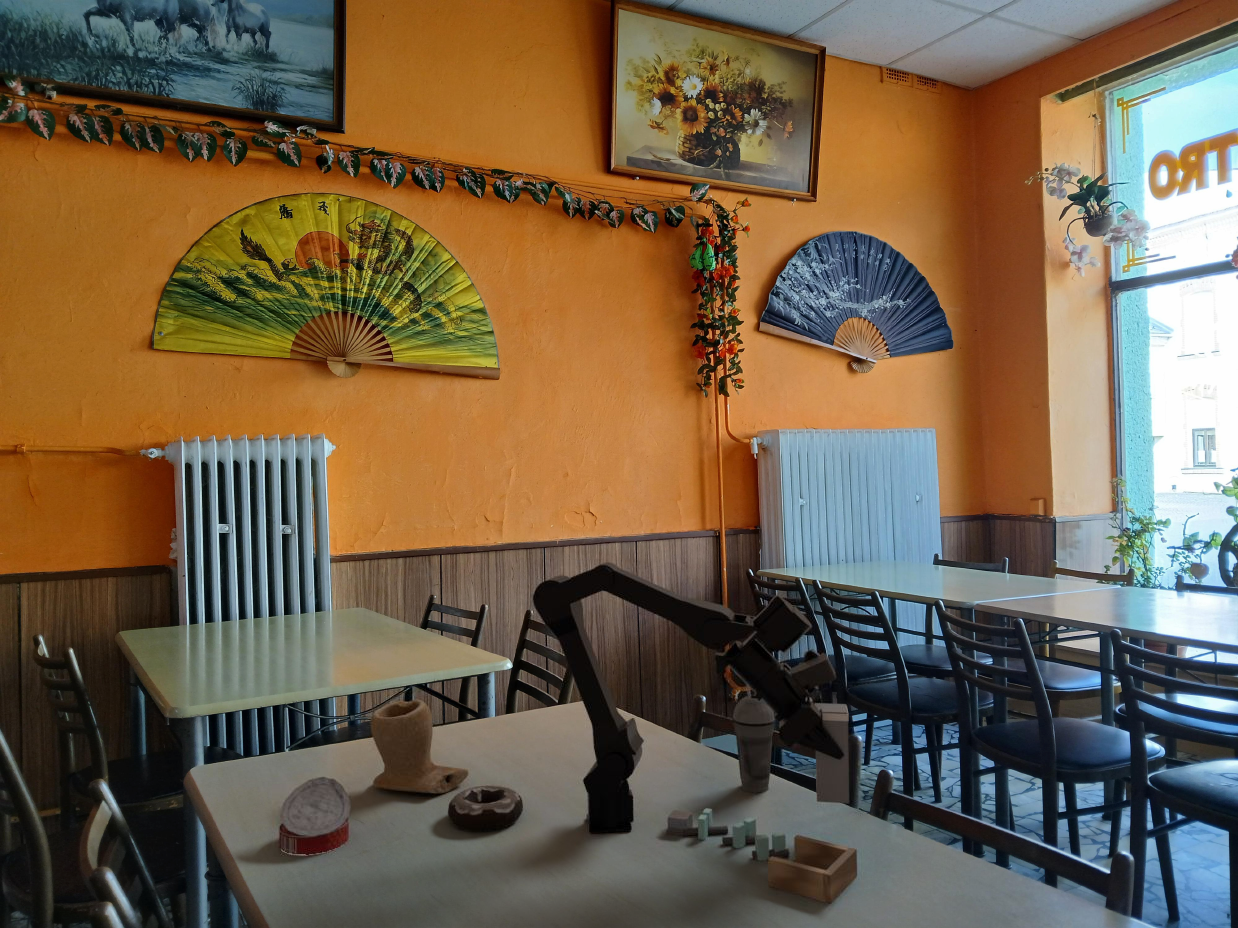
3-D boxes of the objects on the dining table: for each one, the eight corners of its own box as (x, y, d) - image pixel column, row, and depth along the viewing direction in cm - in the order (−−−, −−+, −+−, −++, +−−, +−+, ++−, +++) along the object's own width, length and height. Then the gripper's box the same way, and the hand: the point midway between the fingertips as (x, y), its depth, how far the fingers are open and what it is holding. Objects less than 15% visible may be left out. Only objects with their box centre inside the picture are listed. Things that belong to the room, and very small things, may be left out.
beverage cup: (776, 796, 147) (773, 675, 147) (731, 794, 148) (729, 674, 149) (777, 780, 154) (775, 665, 154) (735, 778, 156) (732, 664, 156)
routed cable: (694, 863, 123) (694, 856, 123) (682, 833, 133) (682, 826, 133) (789, 857, 124) (789, 850, 124) (770, 828, 134) (770, 821, 134)
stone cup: (356, 795, 151) (354, 707, 151) (400, 772, 162) (398, 690, 162) (430, 807, 145) (428, 715, 145) (470, 783, 156) (469, 697, 156)
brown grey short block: (667, 832, 133) (667, 816, 133) (673, 825, 136) (673, 809, 136) (687, 835, 132) (686, 819, 132) (692, 827, 135) (692, 811, 135)
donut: (536, 812, 143) (536, 787, 143) (496, 840, 132) (496, 813, 132) (476, 801, 148) (475, 777, 148) (432, 828, 137) (432, 802, 137)
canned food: (348, 863, 136) (377, 806, 135) (305, 885, 126) (335, 825, 126) (297, 819, 140) (324, 764, 139) (250, 838, 130) (280, 779, 130)
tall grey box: (816, 801, 128) (814, 711, 128) (815, 789, 133) (814, 702, 133) (849, 803, 127) (848, 712, 127) (848, 791, 132) (846, 703, 132)
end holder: (769, 885, 116) (768, 858, 116) (797, 859, 123) (797, 834, 123) (831, 903, 111) (830, 875, 111) (857, 875, 118) (856, 849, 118)
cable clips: (770, 864, 122) (770, 842, 122) (689, 835, 132) (689, 815, 132) (793, 851, 126) (792, 830, 126) (712, 824, 136) (712, 804, 136)
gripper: (802, 649, 122) (887, 733, 119) (801, 624, 140) (875, 697, 138) (745, 704, 123) (828, 788, 121) (752, 673, 142) (824, 746, 139)
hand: (841, 751), depth 130 cm, fingers closed on tall grey box, 4 cm apart
